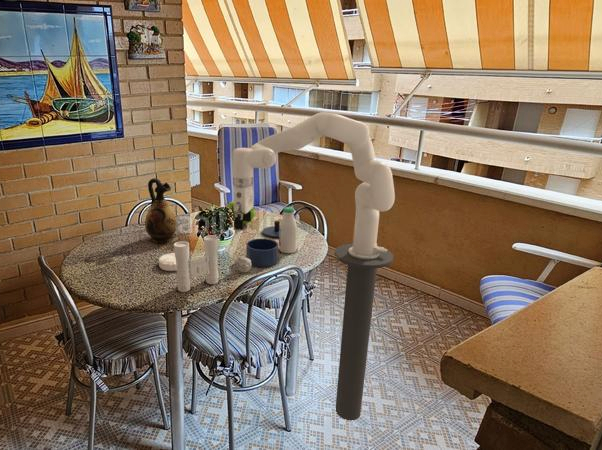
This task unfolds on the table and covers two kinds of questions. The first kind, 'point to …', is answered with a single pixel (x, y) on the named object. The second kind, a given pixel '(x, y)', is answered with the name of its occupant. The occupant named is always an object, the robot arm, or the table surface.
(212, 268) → the binoculars
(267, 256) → the pot
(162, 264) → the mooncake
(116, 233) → the table surface
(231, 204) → the green fuzzy rounded mound
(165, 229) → the ceramic jug
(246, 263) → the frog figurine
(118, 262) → the table surface
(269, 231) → the pot lid
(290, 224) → the milk bottle
